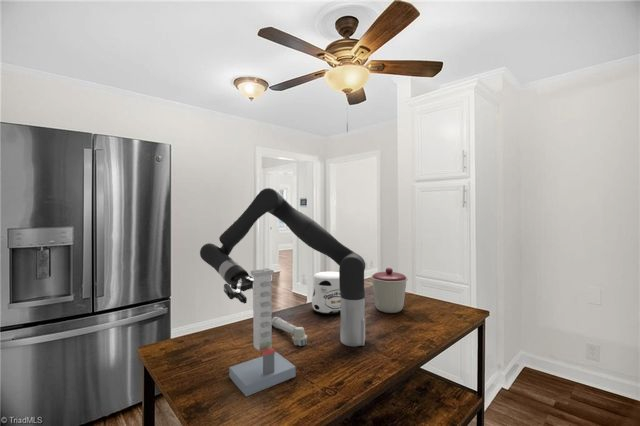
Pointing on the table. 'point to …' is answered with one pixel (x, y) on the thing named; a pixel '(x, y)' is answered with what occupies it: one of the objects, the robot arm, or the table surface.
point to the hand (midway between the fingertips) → (257, 296)
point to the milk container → (326, 293)
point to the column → (262, 309)
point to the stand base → (262, 372)
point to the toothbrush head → (291, 330)
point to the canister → (389, 290)
